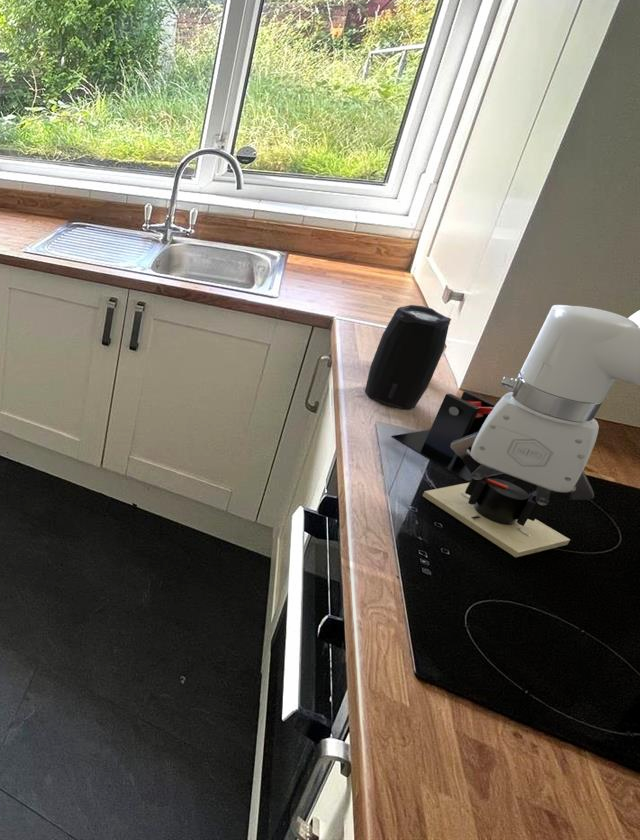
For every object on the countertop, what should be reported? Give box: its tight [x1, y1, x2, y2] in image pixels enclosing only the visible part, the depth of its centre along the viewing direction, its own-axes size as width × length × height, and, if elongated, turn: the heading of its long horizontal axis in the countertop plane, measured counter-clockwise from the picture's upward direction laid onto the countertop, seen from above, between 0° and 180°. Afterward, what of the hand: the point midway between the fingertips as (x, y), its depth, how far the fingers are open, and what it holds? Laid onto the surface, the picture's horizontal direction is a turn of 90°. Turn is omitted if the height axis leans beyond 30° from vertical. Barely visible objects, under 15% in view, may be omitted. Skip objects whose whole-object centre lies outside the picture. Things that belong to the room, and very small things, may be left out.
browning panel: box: [422, 481, 571, 558], centre depth 83 cm, size 12×10×2 cm
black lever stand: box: [390, 390, 506, 482], centre depth 95 cm, size 12×9×12 cm
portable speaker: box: [364, 304, 452, 411], centre depth 110 cm, size 9×9×20 cm
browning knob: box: [474, 477, 529, 525], centre depth 82 cm, size 4×4×5 cm
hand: (496, 508), depth 82 cm, fingers closed on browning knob, 4 cm apart
